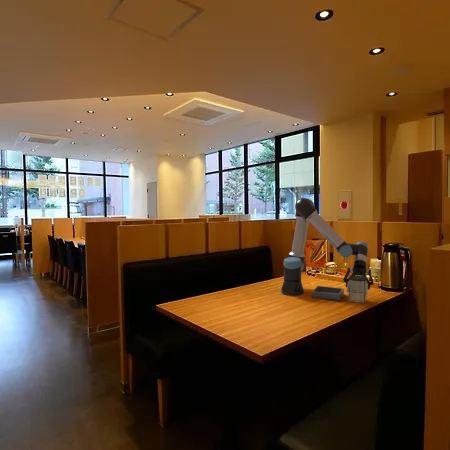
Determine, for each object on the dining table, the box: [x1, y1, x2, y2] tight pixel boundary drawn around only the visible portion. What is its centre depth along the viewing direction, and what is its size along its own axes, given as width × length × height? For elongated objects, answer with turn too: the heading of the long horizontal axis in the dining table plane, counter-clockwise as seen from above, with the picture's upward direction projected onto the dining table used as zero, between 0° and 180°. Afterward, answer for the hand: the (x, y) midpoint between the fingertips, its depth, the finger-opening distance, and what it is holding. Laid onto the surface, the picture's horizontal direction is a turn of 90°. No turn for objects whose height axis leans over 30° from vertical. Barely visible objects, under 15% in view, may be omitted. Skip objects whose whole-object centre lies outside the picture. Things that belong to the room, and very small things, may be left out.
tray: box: [311, 285, 345, 302], centre depth 206 cm, size 17×17×4 cm
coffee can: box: [348, 275, 368, 304], centre depth 195 cm, size 10×10×14 cm
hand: (356, 292), depth 192 cm, fingers closed on coffee can, 10 cm apart
